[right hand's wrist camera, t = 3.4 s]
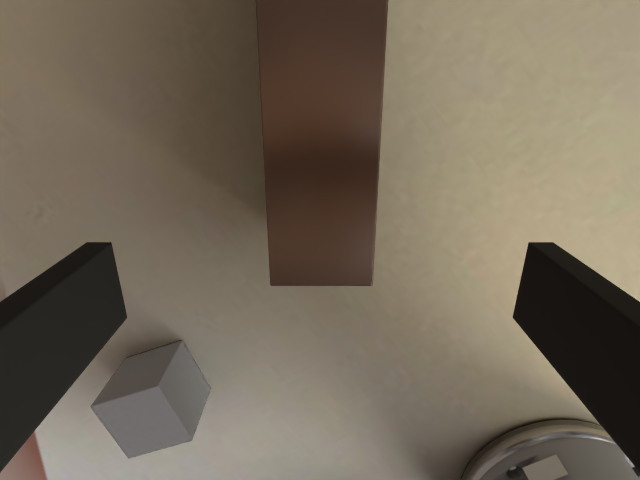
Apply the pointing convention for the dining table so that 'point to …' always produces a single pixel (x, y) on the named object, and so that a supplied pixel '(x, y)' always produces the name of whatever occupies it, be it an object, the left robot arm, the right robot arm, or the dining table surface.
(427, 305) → the dining table surface
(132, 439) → the grey block
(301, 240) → the bar
